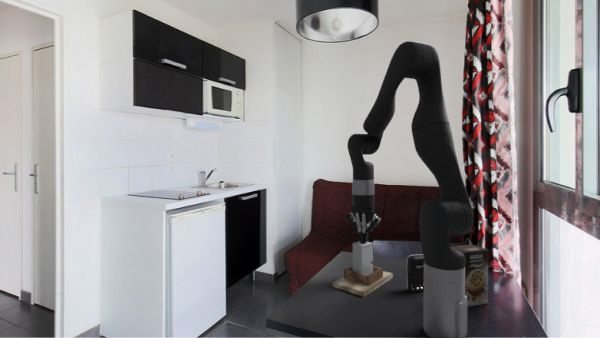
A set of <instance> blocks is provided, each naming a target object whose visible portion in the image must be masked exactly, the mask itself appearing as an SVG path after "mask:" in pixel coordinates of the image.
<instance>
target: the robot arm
mask: <svg viewBox="0 0 600 338" xmlns="http://www.w3.org/2000/svg"><path fill="white" fill-rule="evenodd" d="M441 69H442V68H441V62H440V57H439V53H438V51H437V49H436V48H435V47H434V46H432V45H430V44H426V43H421V42H416V41H409V40H408V41H404V42H402V43H401V44H399V45H398V47H397V48H396V49H395V51H394V52H393V55H392V56H391V59H390V62H389V63H388V66H387V70H386V72H385V75H384V78H383V80H382V82H381V86H380V88H379V91H378V95H377V97H376V99H375V101H374V103H373V105H372V107H371V109H370V111H369V112H368V114H367V116H366V118H365V120H364V121H363V125H362V128H363V131H365V133H353V134H351V135H350V136H349V138H348V141H347V151H348V155H349V159H350V163H351V167H352V183H351V185H352V187H351V197H352V198H351V205H352V209H351V212H350V213H348V214H346V215H345V216H346V219H347V220H348V222H349V224H350V225H351V227H352V228H353V230H354V231H357V232H358V242H360V243H363V244H365V243H367V242H369V233H370V232H373V231H374V230H375V229H376V228H377V227H378V226H379V224H380V222H381V221H382V217H380V216H377V213H376V211H375V204H376V203H375V202H376V201H375V199H376V198H375V197H376V196H375V195H376V194H375V192H376V189H375V187H376V186H375V166H374V163H372V162H371V161H366V160H365V158H364V156H365V155H366V156H369V155H373V154H375V153H377V151H378V150H379V148H380V146H381V143H382V141H383V140H382V139H383V135H384V132H385V130H386V129H387V127H388V126H389V125H390V123H391V121H392V119H393V117H394V115H395V113H396V112H395V111H396V96H397V95H396V94H397V91H398V88H399V86H400V85H401V83H402V82H403V81H404V80H405V79H412V80H415V81H416V84H417V89H418V95H419V96H418V97H419V99H418V104H417V106H416V109H415V111H414V114H413V117H412V120H411V125H410V126H411V128H410V129H411V133H412V141H413V144H414V149H415V151H416V154H417V155H418V157H419V158H420V160H421V162H423V163H424V165H425V166H426V167H427V169H428V170H429V171H430V172H431V174H432V175H433V176H434V178H435V181H436V183H437V185H438V188H439V192H440V195H441V196H440V197H439V198H430V199H427V200H425V201H424V202H423V204H422V205H421V208H420V211H419V230H420V231H419V232H420V233H419V235H420V247H421V248H420V249H421V252H422V254H423V255H424V291H423V320H422V322H423V332H424V333H425V335H426V336H428V337H430V338H466V337H467V335H468V307H467V296H466V295H465V256H464V254H463V253H462V252H460V251H458V250H455V249H452V248H450V247H451V242H450V237H457V236H463V235H464V236H465V235H466V234H469V233H470V232H471V231H472V229H473V227H474V219H475V218H474V216H475V215H474V211H473V207H472V204H471V200H470V197H469V195H468V191H467V189H466V185H465V182H464V181H463V180H464V179H463V175H462V173H461V169H460V165H459V161H458V157H457V154H456V148H455V144H454V143H455V142H454V137H453V132H452V127H451V124H450V120H449V116H448V115H449V114H448V111H447V106H446V101H445V100H446V99H445V96H444V90H443V81H442V80H443V79H442V70H441Z"/></svg>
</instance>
